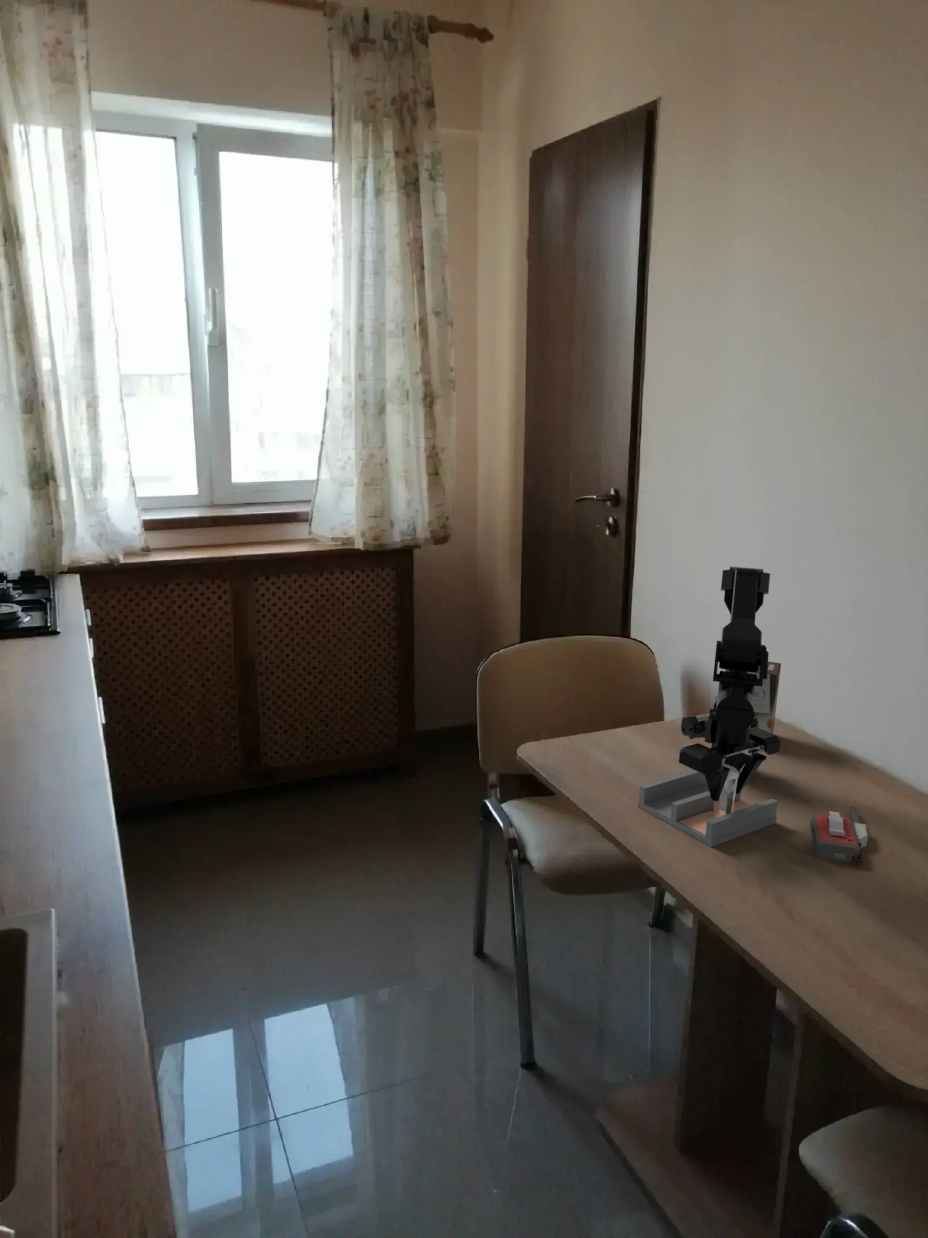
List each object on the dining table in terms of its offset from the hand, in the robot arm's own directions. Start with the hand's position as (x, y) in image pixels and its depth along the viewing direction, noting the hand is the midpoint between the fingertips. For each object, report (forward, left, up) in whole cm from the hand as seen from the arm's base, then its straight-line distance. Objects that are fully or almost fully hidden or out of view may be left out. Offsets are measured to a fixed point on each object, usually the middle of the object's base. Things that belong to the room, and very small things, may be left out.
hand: (725, 796), depth 156 cm
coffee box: (-36, -23, -5) cm, 43 cm away
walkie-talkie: (-13, +13, -6) cm, 19 cm away
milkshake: (0, 0, -4) cm, 4 cm away
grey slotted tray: (0, -4, -5) cm, 6 cm away
